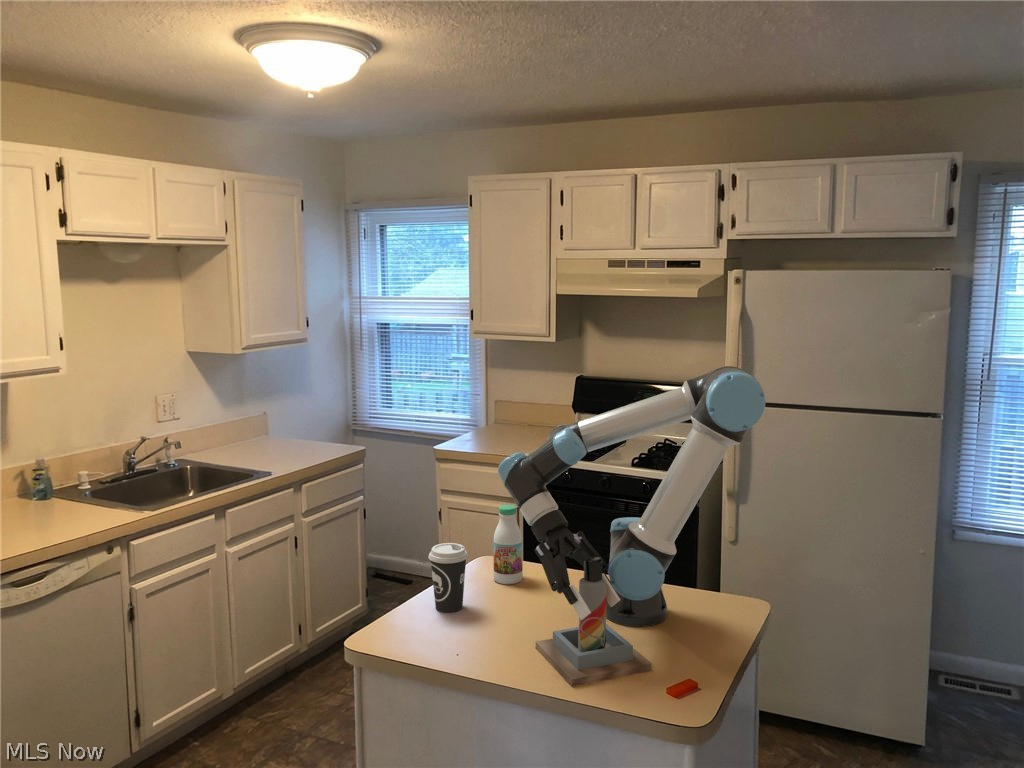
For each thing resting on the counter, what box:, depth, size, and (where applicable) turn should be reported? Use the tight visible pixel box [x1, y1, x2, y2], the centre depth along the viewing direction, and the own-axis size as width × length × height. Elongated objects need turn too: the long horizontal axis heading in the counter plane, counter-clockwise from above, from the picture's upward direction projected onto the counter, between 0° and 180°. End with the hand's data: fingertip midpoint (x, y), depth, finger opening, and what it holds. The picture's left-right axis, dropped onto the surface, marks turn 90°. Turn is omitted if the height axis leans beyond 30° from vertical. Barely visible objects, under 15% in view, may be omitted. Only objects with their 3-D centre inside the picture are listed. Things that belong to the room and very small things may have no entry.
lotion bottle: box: [578, 557, 607, 653], centre depth 167 cm, size 6×6×20 cm
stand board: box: [535, 638, 653, 688], centre depth 168 cm, size 18×18×2 cm
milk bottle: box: [493, 504, 524, 585], centre depth 212 cm, size 8×8×20 cm
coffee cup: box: [427, 542, 469, 614], centre depth 194 cm, size 10×10×15 cm
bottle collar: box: [552, 623, 634, 671], centre depth 168 cm, size 12×12×3 cm
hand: (601, 609), depth 164 cm, fingers open, 9 cm apart
